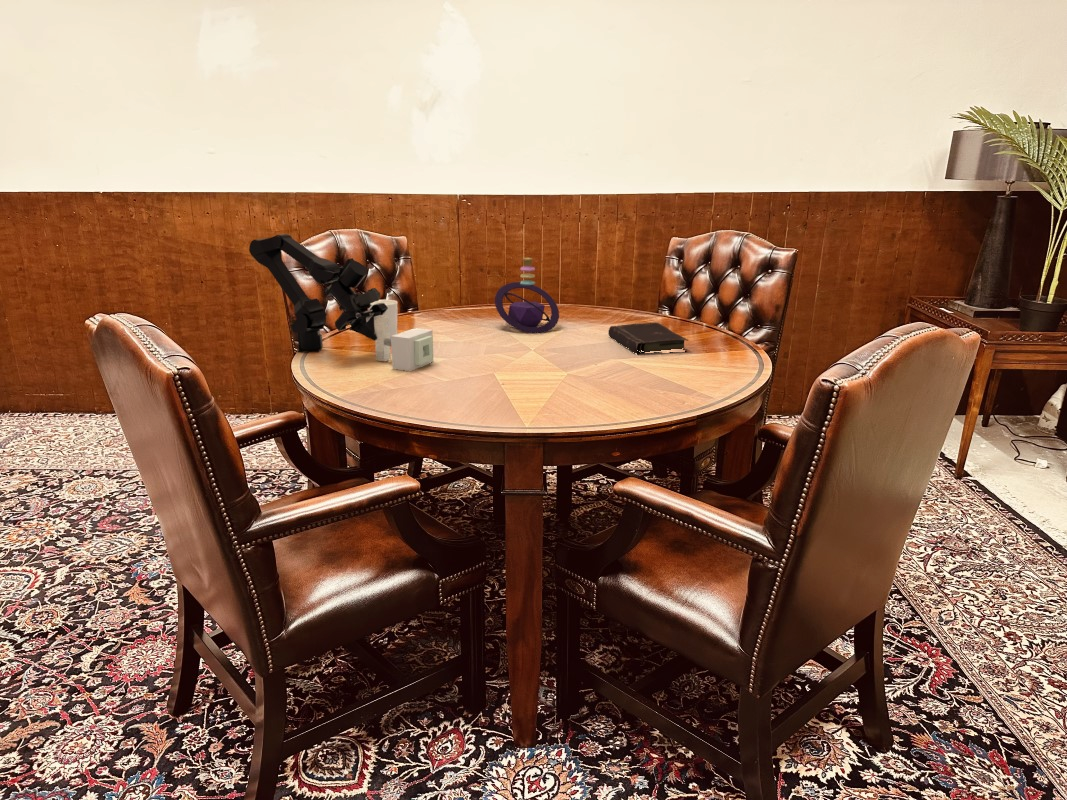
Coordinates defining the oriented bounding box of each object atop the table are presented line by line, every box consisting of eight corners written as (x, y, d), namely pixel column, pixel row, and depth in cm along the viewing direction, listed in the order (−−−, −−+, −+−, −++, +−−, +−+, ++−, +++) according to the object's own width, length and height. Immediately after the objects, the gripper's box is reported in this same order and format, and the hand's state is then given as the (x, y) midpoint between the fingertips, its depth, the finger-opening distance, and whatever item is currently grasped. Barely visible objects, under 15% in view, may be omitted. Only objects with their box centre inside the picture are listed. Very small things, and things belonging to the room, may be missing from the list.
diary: (634, 357, 224) (635, 341, 222) (608, 339, 247) (608, 325, 245) (690, 353, 228) (691, 338, 226) (658, 336, 251) (659, 322, 250)
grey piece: (376, 360, 213) (373, 316, 209) (382, 357, 216) (380, 315, 212) (418, 366, 207) (416, 321, 203) (424, 364, 210) (422, 320, 206)
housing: (392, 368, 206) (390, 336, 203) (416, 359, 216) (415, 328, 213) (410, 371, 203) (408, 338, 200) (433, 361, 214) (432, 330, 211)
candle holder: (402, 334, 248) (401, 300, 244) (394, 341, 238) (392, 305, 235) (374, 333, 248) (372, 299, 245) (365, 340, 239) (363, 304, 236)
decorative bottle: (503, 336, 247) (502, 262, 239) (490, 323, 266) (489, 255, 258) (565, 333, 252) (567, 260, 245) (548, 321, 272) (549, 253, 264)
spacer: (415, 364, 205) (414, 340, 203) (428, 359, 211) (428, 335, 209) (419, 365, 204) (418, 341, 202) (433, 359, 210) (432, 336, 208)
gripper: (339, 284, 201) (374, 327, 200) (381, 276, 217) (412, 315, 216) (320, 309, 207) (353, 351, 206) (361, 299, 223) (392, 338, 222)
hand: (379, 338), depth 212 cm, fingers closed on grey piece, 3 cm apart
